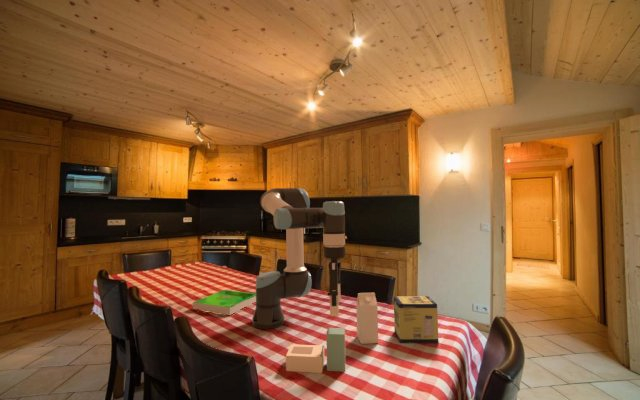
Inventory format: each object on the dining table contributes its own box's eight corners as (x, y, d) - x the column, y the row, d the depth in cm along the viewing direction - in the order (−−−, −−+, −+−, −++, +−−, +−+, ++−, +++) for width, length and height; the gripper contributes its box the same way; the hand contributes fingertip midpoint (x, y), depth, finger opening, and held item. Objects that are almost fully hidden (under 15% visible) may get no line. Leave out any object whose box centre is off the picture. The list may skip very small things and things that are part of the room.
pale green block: (326, 370, 93) (326, 333, 94) (328, 362, 98) (327, 327, 99) (345, 371, 93) (344, 333, 93) (345, 363, 98) (344, 327, 98)
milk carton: (356, 336, 118) (356, 290, 119) (373, 335, 119) (372, 290, 120) (360, 344, 111) (359, 295, 112) (378, 343, 112) (377, 295, 113)
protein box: (393, 332, 122) (392, 295, 123) (429, 332, 122) (428, 295, 122) (399, 343, 112) (398, 303, 112) (439, 343, 111) (438, 303, 112)
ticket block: (286, 370, 94) (286, 354, 94) (291, 358, 101) (291, 343, 102) (322, 372, 92) (321, 356, 92) (324, 359, 100) (324, 345, 100)
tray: (192, 311, 153) (192, 302, 153) (224, 297, 176) (224, 289, 176) (229, 317, 143) (229, 307, 144) (258, 302, 167) (258, 293, 167)
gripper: (344, 250, 84) (345, 322, 83) (346, 242, 109) (347, 297, 108) (319, 250, 85) (320, 322, 84) (326, 242, 110) (327, 297, 109)
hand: (335, 308), depth 96 cm, fingers open, 13 cm apart
